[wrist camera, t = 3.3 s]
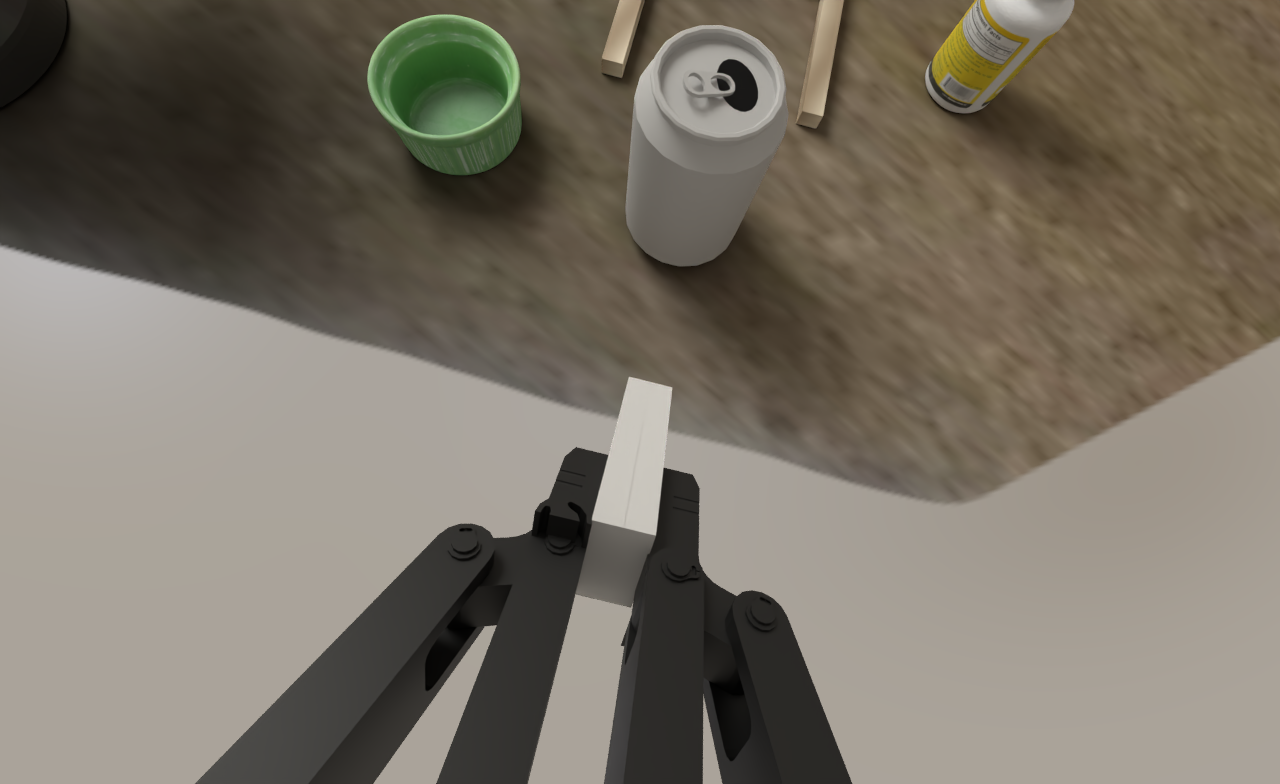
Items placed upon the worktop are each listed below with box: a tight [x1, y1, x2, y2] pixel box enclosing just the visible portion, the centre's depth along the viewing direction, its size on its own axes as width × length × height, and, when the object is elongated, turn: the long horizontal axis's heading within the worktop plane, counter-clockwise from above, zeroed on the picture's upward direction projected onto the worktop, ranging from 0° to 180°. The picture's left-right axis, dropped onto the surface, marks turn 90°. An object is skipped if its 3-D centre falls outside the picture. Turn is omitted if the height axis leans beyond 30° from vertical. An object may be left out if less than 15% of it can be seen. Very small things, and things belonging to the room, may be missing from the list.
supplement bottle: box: [925, 0, 1074, 113], centre depth 34 cm, size 5×5×10 cm
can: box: [626, 25, 788, 266], centre depth 28 cm, size 8×8×12 cm
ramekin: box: [367, 15, 522, 175], centre depth 33 cm, size 9×9×4 cm
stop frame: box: [602, 0, 844, 129], centre depth 37 cm, size 16×14×1 cm
